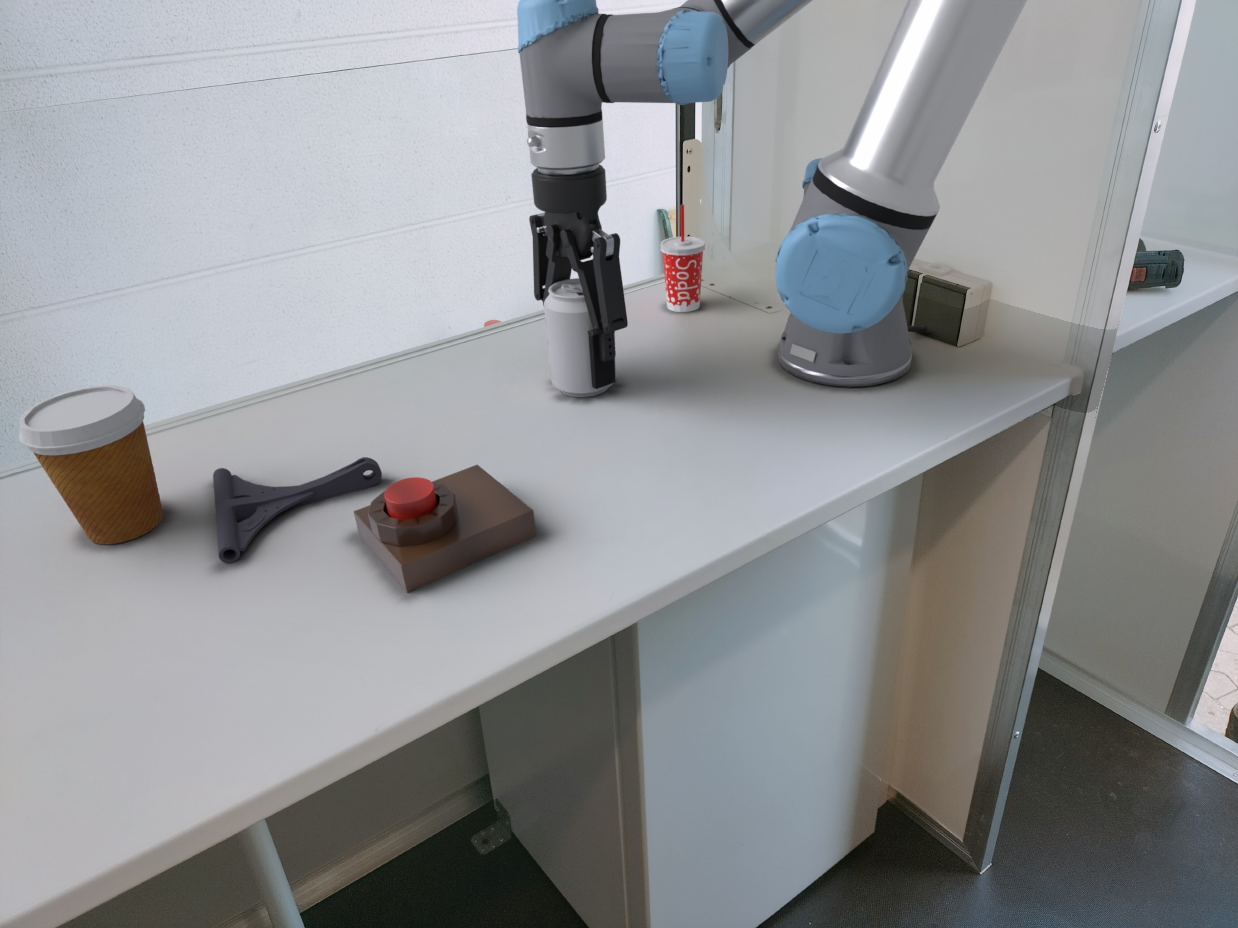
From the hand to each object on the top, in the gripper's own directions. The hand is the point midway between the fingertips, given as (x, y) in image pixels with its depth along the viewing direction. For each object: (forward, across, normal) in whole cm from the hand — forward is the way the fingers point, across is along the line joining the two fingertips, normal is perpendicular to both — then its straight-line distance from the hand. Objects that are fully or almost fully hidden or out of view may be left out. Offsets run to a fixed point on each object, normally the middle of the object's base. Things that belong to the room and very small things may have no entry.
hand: (583, 373), depth 98 cm
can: (+2, 0, 0) cm, 2 cm away
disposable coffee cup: (+2, -4, -48) cm, 48 cm away
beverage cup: (+2, -12, +25) cm, 28 cm away
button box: (+2, +17, -26) cm, 31 cm away
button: (-2, +17, -29) cm, 33 cm away
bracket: (+2, +3, -34) cm, 34 cm away
